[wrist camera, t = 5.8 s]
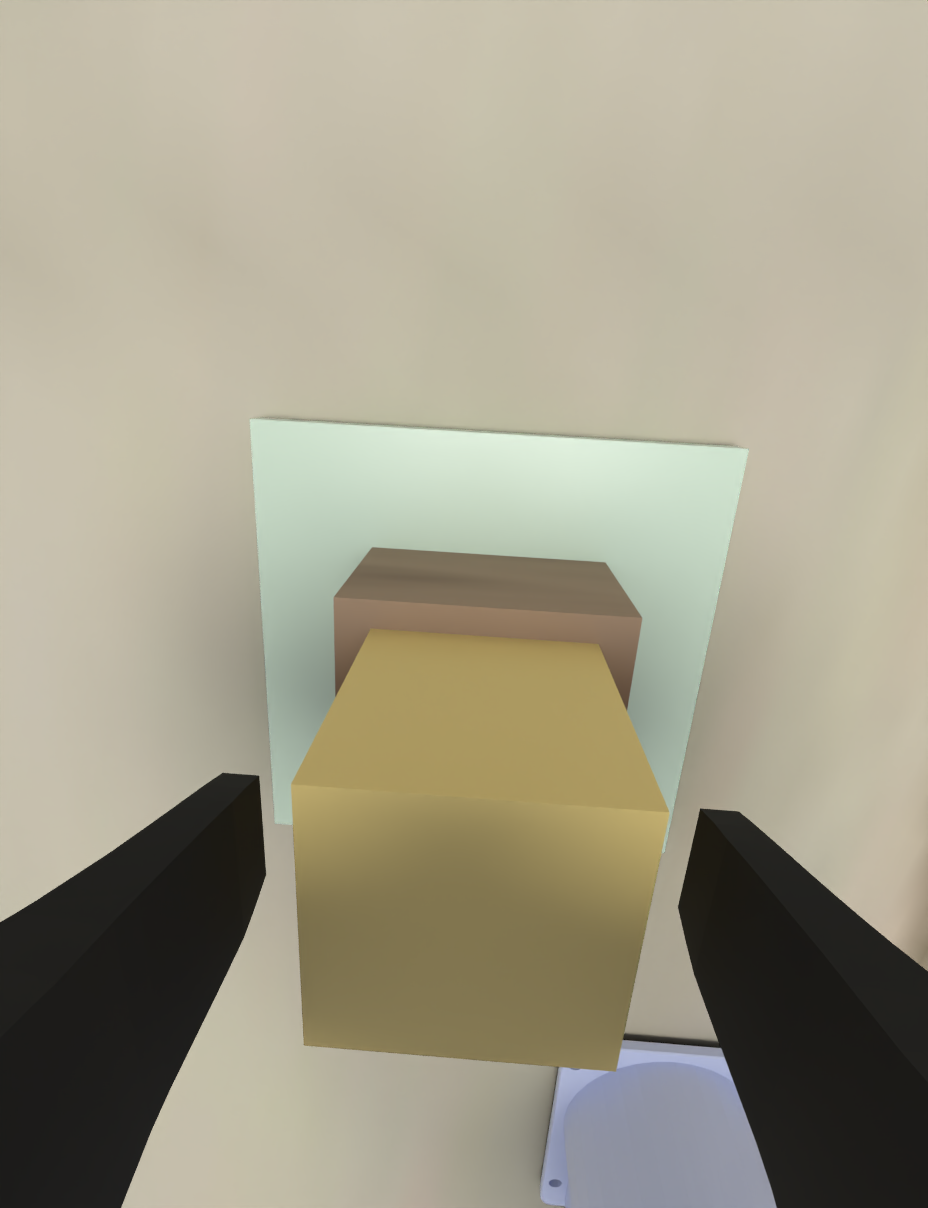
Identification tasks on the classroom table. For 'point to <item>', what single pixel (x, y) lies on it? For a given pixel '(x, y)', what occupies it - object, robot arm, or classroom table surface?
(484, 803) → the brick
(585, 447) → the build plate
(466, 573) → the base block
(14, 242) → the classroom table surface
